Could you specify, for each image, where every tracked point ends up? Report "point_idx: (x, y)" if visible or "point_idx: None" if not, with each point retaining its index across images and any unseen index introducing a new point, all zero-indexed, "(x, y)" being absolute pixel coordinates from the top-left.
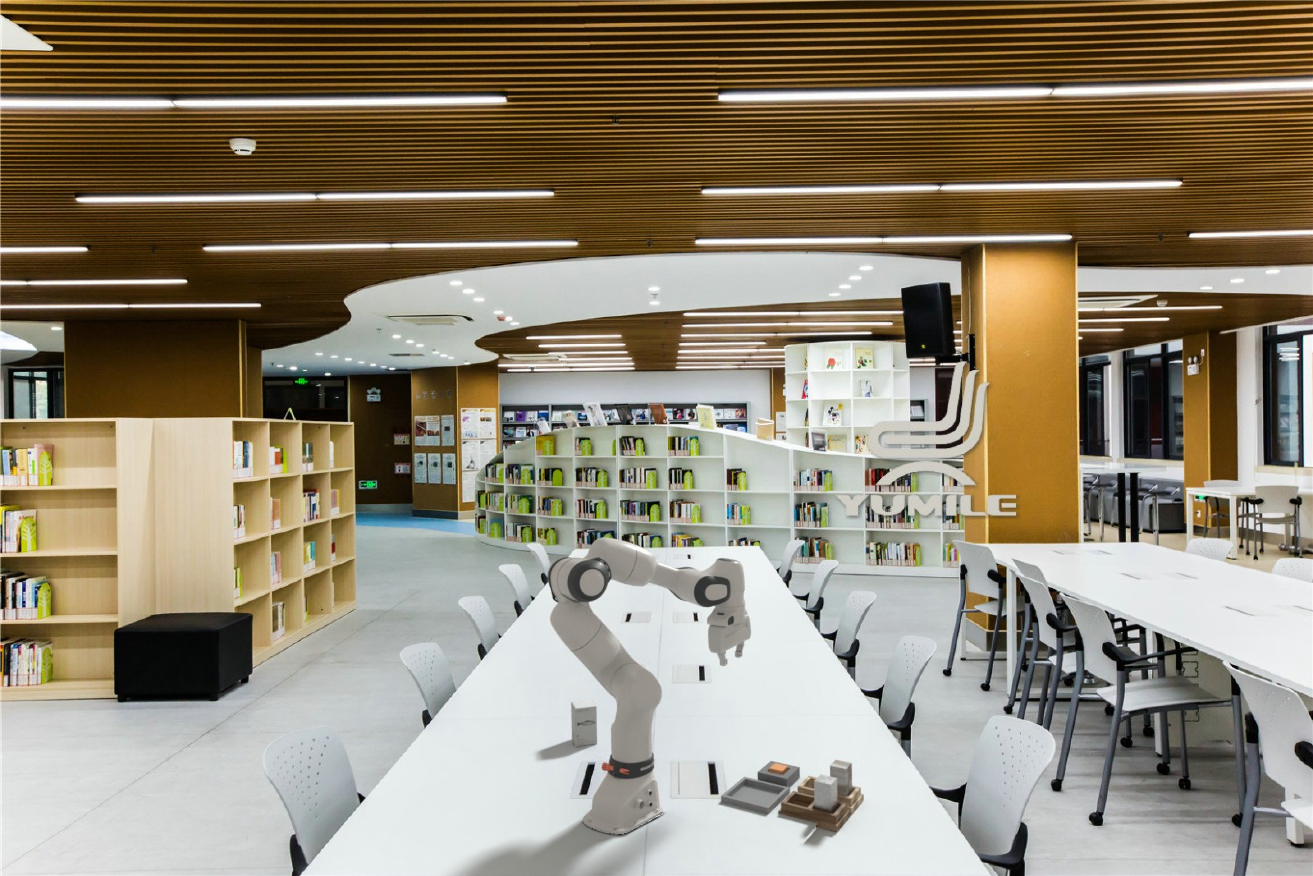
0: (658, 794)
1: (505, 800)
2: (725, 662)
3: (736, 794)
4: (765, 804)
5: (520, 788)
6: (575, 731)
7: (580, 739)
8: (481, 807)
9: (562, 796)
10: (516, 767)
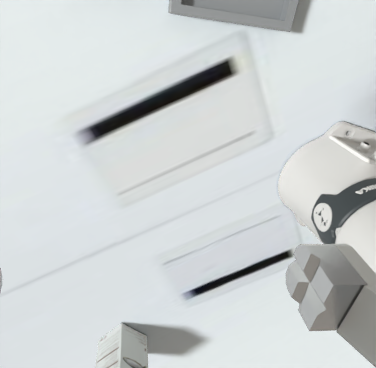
0: (346, 145)
1: None
2: (361, 263)
3: (242, 7)
4: None
5: (292, 313)
6: (147, 359)
7: (142, 342)
8: None
9: None
10: (237, 346)
